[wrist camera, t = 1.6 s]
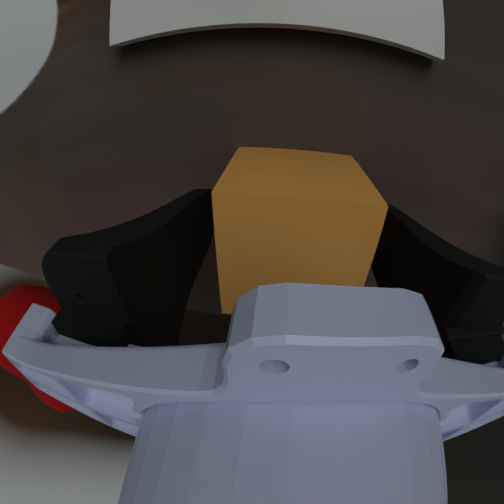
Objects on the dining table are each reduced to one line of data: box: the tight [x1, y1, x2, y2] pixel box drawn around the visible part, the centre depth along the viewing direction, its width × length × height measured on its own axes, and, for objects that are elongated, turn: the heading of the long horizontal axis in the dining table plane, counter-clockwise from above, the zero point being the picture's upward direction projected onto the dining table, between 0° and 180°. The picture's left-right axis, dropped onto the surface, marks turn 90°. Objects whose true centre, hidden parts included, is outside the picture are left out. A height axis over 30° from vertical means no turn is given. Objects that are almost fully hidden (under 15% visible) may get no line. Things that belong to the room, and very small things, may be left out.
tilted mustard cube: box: [212, 147, 388, 314], centre depth 11 cm, size 5×5×5 cm
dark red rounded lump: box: [0, 285, 77, 412], centre depth 14 cm, size 9×7×10 cm
